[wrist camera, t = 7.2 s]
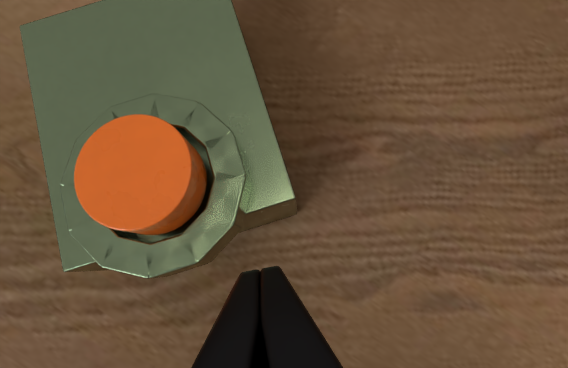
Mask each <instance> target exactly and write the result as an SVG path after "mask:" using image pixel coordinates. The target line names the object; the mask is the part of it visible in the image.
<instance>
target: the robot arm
mask: <svg viewBox="0 0 568 368" xmlns="http://www.w3.org/2000/svg"><path fill="white" fill-rule="evenodd" d="M191 368H343V367H342V365H341V364H340V362H339V360H338V359H337V357H336V356H335V354H334V352H333V351H332V349H331V348H330V346H329V344H328V343H327V341H326V340H325V338H324V336H323V335H322V333H321V332H320V330H319V328H318V327H317V325H316V324H315V322H314V321H313V319H312V317H311V316H310V314H309V313H308V311H307V309H306V308H305V306H304V305H303V303H302V301H301V300H300V298H299V297H298V295H297V293H296V292H295V290H294V289H293V287H292V285H291V284H290V282H289V281H288V279H287V277H286V276H285V274H284V273H283V271H282V269H281V268H280V267H279V266H274V267H269V268H263V269H262V270H261V272H260V271H259V270H252V271H246V272H242V273H241V274H240V275H239V277H238V279H237V281H236V283H235V284H234V286H233V288H232V290H231V292H230V294H229V296H228V298H227V300H226V302H225V304H224V306H223V308H222V310H221V311H220V313H219V315H218V317H217V319H216V321H215V323H214V325H213V327H212V329H211V331H210V333H209V335H208V337H207V338H206V340H205V342H204V344H203V346H202V348H201V350H200V352H199V354H198V356H197V358H196V360H195V362H194V364H193V366H192V367H191Z"/></svg>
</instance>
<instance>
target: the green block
mask: <svg viewBox="0 0 568 368" xmlns="http://www.w3.org/2000/svg"><path fill="white" fill-rule="evenodd" d="M20 31H21V37H22V42H23V48H24V53H25V59H26V65H27V70H28V76H29V81H30V87H31V93H32V98H33V104H34V110H35V115H36V121H37V126H38V132H39V138H40V143H41V149H42V154H43V160H44V166H45V171H46V177H47V182H48V188H49V194H50V199H51V205H52V211H53V216H54V222H55V227H56V233H57V239H58V244H59V250H60V255H61V261H62V267H63V271H64V272H78V271H101V270H114V271H118V272H122V273H126V274H131V275H135V276H139V277H143V278H147V279H148V278H158V277H167V276H171V275H174V274H177V273H180V272H183V271H186V270H189V269H193V268H196V267H199V266H202V265H205V264H208V263H209V262H212V260H213V259H214V258H215V257H216V256H217V255H218V254H219V253H220V252H221V251H222V250H223V249H224V248H225V246H226V245H227V244H228V243H229V242H230V241H231V240H232V239H233V238H234V237H235V236H236V235H237V234H238V233H240V232H243V231H246V230H249V229H252V228H255V227H258V226H261V225H265V224H268V223H271V222H274V221H277V220H280V219H283V218H287V217H290V216H293V215H296V214H297V206H296V197H295V194H294V191H293V188H292V185H291V182H290V179H289V176H288V172H287V169H286V166H285V163H284V160H283V157H282V154H281V151H280V148H279V145H278V142H277V139H276V136H275V133H274V129H273V126H272V123H271V120H270V117H269V114H268V111H267V108H266V105H265V102H264V99H263V96H262V93H261V89H260V86H259V83H258V80H257V77H256V74H255V71H254V68H253V65H252V62H251V59H250V56H249V53H248V50H247V46H246V43H245V40H244V37H243V34H242V31H241V28H240V25H239V22H238V19H237V16H236V13H235V10H234V6H233V3H232V0H102V1H98V2H95V3H92V4H89V5H85V6H82V7H79V8H76V9H72V10H69V11H66V12H63V13H59V14H56V15H53V16H50V17H46V18H43V19H40V20H37V21H33V22H30V23H27V24H24V25H21V26H20ZM134 114H144V115H151V116H154V117H158V118H160V119H162V120H165V121H166V122H168V123H170V124H171V125H172V126H173V127H175V128H176V129H177V130H178V131H179V132H180V133H181V134H182V135H183V136H184V138H185V139H186V140H187V141H188V142H189V143H190V144H191V145H192V146H193V147H194V148H195V149H196V150H197V152H198V153H199V154H200V156H201V158H202V160H203V162H204V165H205V169H206V174H207V186H206V192H205V195H204V198H203V201H202V203H201V205H200V207H199V208H198V210H197V211H196V213H195V214H194V215H193V216H192V218H191V219H189V220H188V221H187V222H186V223H185V224H183V225H182V226H181V227H179V228H177V229H175V230H173V231H170V232H168V233H164V234H159V235H144V234H138V233H132V232H126V231H120V230H114V229H111V228H108V227H106V226H103V225H101V224H100V223H98V222H97V221H95V220H94V219H93V218H91V217H90V216H89V215H88V214H87V212H86V211H85V210H84V209H83V207H82V205H81V204H80V202H79V199H78V197H77V194H76V190H75V185H74V171H75V165H76V161H77V158H78V156H79V153H80V151H81V149H82V147H83V146H84V144H85V143H86V141H87V140H88V138H89V137H90V136H91V135H92V134H93V133H94V132H95V131H96V130H98V129H99V128H100V127H101V126H103V125H104V124H106V123H108V122H110V121H112V120H114V119H116V118H119V117H122V116H127V115H134Z"/></svg>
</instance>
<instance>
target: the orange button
mask: <svg viewBox="0 0 568 368" xmlns="http://www.w3.org/2000/svg"><path fill="white" fill-rule="evenodd" d="M74 185H75V190H76V194H77V197H78V199H79V202H80V204H81V205H82V207H83V209H84V210H85V211H86V212H87V214H88V215H89V216H90V217H91V218H93V219H94V220H95V221H97V222H98V223H100V224H101V225H103V226H106V227H108V228H111V229H114V230H120V231H126V232H132V233H138V234H144V235H159V234H164V233H168V232H170V231H173V230H175V229H177V228H179V227H181V226H182V225H183V224H185V223H186V222H187V221H188V220H189V219H191V218H192V216H193V215H194V214H195V213H196V211H197V210H198V208H199V207H200V205H201V203H202V201H203V198H204V195H205V192H206V186H207V174H206V169H205V165H204V162H203V160H202V158H201V156H200V154H199V153H198V152H197V150H196V149H195V148H194V147H193V146H192V145H191V144H190V143H189V142H188V141H187V140H186V139H185V138H184V136H183V135H182V134H181V133H180V132H179V131H178V130H177V129H176V128H175V127H173V126H172V125H171V124H170V123H168V122H166V121H165V120H162V119H160V118H158V117H154V116H151V115H144V114H134V115H127V116H122V117H119V118H116V119H114V120H112V121H110V122H108V123H106V124H104V125H103V126H101V127H100V128H99V129H98V130H96V131H95V132H94V133H93V134H92V135H91V136H90V137H89V138H88V140H87V141H86V143H85V144H84V146H83V147H82V149H81V151H80V153H79V156H78V158H77V161H76V165H75V171H74Z"/></svg>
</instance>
